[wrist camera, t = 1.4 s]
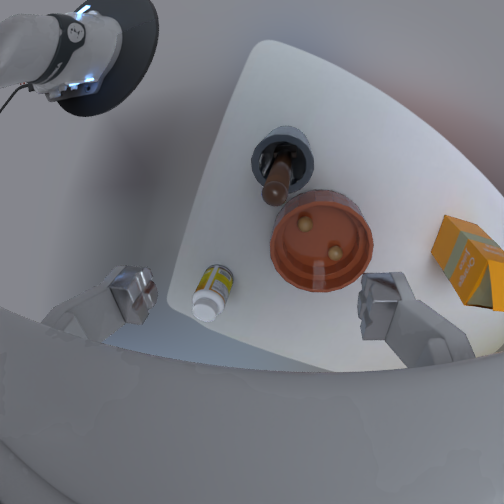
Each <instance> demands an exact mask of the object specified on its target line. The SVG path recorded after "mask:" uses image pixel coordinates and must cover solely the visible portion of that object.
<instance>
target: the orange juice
mask: <svg viewBox="0 0 504 504" xmlns="http://www.w3.org/2000/svg"><path fill="white" fill-rule="evenodd" d="M431 253H432V255H433V256H434V258H435V259H436V261H437V262H438V264H439V265H440V267H441V268H442V270H443V272H444V273H445V275H446V276H447V278H448V280H449V281H450V282H451V284H452V286H453V287H454V289H455V291H456V292H457V294H458V296H459V297H460V299H461V301H462V303H463V304H464V305H466V306H476V307H482V308H488V309H493V311H502V312H504V251H503V250H502V249H501V248H500V246H499V245H498V244H497V243H496V242H495V241H494V240H492V239H491V238H490V237H489V236H488V235H487V234H486V233H485V232H484V231H483V230H482V229H481V228H480V227H479V226H478V225H476V224H473V223H470V222H467V221H464V220H460V219H457V218H454V217H450V216H447V215H445V216H444V219H443V222H442V225H441V227H440V230H439V233H438V236H437V238H436V241H435V243H434V246H433V248H432V251H431Z"/></svg>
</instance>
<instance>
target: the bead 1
mask: <svg viewBox="0 0 504 504" xmlns="http://www.w3.org/2000/svg"><path fill="white" fill-rule="evenodd" d="M297 225H298V228H299V230H301V231H302V232H309V231H310V230H311V229H312V228H313V221H312V219H311V218H309V217H306V216H304V217H301V218H300V219H299V220H298V224H297Z"/></svg>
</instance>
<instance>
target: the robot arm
mask: <svg viewBox="0 0 504 504" xmlns="http://www.w3.org/2000/svg"><path fill="white" fill-rule="evenodd" d="M89 7H90V6H87V5H86V6H85V7H84V8H82V9H81V10H80V11H79V12H77V13H74V12H73V13H72V12H69V13H66V14H65V15H64V14H59V13H57V14H48V15H31V14H17V15H13V16H11V17H9V18H7V19H5V20H4V21H2V22H1V23H0V89H1V88H4V87H7V86H11V85H15V84H19V83H20V85H21V83H23V84H25V82H27V83H28V84H25V85H22V86H20V87H18V88H17V89H16V90H15V91H14V92H13V94H12V95H11V96H10V98H9V99H8V100H7V101H6V103H5V104H4V105H3V107H2V108H1V109H0V113H1V111H2V110H3V109H4V108H5V106H6V105H7V104H8V102H9V101H10V100H11V98H12V97H13V96H14V95H15V93H16V92H17V91H18V90H19V89H22V88H25V87H28V88H29V92H31V91H36V93H38V94H43V93H45V96H46V98H47V100H48V101H49V102H55V101H60V100H64V99H69V98H74V97H79V96H85V95H90V94H96V93H97V92H98V91H99V90H100V87H101V85H102V82H103V79H104V77H105V76H106V75H107V73H108V72H109V71H110V70H111V68H112V67H113V65H114V64H115V62H116V60H117V58H118V56H119V53H120V50H121V46H122V30H121V27H120V25H119V23H118V22H117V21H116V20H115V19H113V18H111V17H106V16H102V15H101V14H100V13H99V12H98V11H90V12H88V13H83V12H84V11H85V10H87V9H88V8H89ZM89 88H90V90H89ZM152 277H153V275H152V272H151V270H150V268H148V267H142V266H127V265H118V266H116V267H115V268H114V269H113V270H112V271H111V272H110V273H109V274H108V276H107V277H106V278H105V279H104V280H103V281H102V282H101V283H100V284H99V286H94V287H92V288H91V289H88V290H86V291H85V292H83V293H81V294H79V295H77V296H75V297H73V298H71V299H69V300H67V301H65V302H63V303H61V304H60V305H57V306H55V307H54V308H53V309H52V310H51V311H50V312H49V314H48V315H47V316H46V317H45V318H44V319H43V320H42V322H41V323H38V322H36V321H33V320H30V319H28V318H25V317H23V316H20V315H18V314H16V313H13V312H11V311H9V310H6V309H4V308H2V307H0V504H504V351H502V352H498V353H494V354H490V355H485V356H481V357H475V354H474V352H473V350H472V347H471V345H470V343H469V341H468V338H467V336H466V334H465V333H464V332H463V331H461V330H460V329H459V328H457V327H456V326H455V325H453V324H452V323H451V322H449V321H448V320H447V319H445V318H444V317H443V316H441V315H440V314H438V313H437V312H436V311H434V310H433V309H432V308H430V307H429V306H427V305H426V304H425V303H423V302H422V301H420V300H416V299H415V296H414V294H413V292H412V290H411V288H410V286H409V284H408V281H407V279H406V277H405V275H404V273H402V272H389V273H363V276H362V280H361V285H362V290H361V291H360V292H359V296H358V305H357V309H358V317H359V318H360V319H361V320H362V321H361V325H360V328H361V334H362V339H363V340H385V342H386V343H387V344H388V345H389V346H390V348H391V349H392V350H393V351H394V352H395V353H396V355H397V356H398V357H399V358H400V359H401V360H402V362H403V363H404V364H405V365H406V366H407V367H408V368H405V369H394V370H381V371H365V372H330V373H328V372H327V373H326V372H325V373H321V372H286V371H268V370H255V369H243V368H234V367H224V366H217V365H208V364H202V363H195V362H188V361H182V360H176V359H171V358H165V357H160V356H154V355H150V354H145V353H141V352H136V351H132V350H127V349H123V348H119V347H115V346H111V345H107V344H104V343H101V342H102V341H103V340H105V339H106V338H108V337H109V336H110V335H112V334H113V333H114V332H115V331H117V330H118V329H119V328H120V327H122V326H123V325H125V323H131V324H138V325H143V323H144V322H145V320H146V318H147V317H148V315H149V312H148V310H149V309H151V308H152V307H154V305H155V304H156V301H157V297H158V291H157V287H156V285H155V284H154V282H153V281H152V280H151V279H152Z"/></svg>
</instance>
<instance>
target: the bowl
mask: <svg viewBox="0 0 504 504" xmlns="http://www.w3.org/2000/svg"><path fill="white" fill-rule="evenodd" d="M304 216H306V217H309V218H311V219H312V221H313V228H312V229H311V230H310V231H309V232H302V231H301V230H299V228H298V225H297V224H298V220H299V219H300V218H301V217H304ZM332 246H339V247H340V248H341V249H342V251H343V255H342V257H341V259H339V260H337V261H334V260H331V259H330V258H329V255H328V251H329V249H330V248H331V247H332ZM373 246H374V244H373V239H372V233H371V230H370V228H369V226H368V224H367V222H366V220H365V218H364V216H363V214H362V213H361V211H360V209H359V208H358V206H357V205H356V204H355V203H354V202H352V201H351V200H350V199H349V198H347V197H346V196H344V195H342V194H339V193H336V192H333V191H330V190H313V191H309V192H306V193H302V194H299V195H297V196H296V197H294V198H293V199H292V200H290V201H289V202H287V203H286V204H285V205H284V207H283V208H282V209H281V211H280V212H279V213H278V215H277V217H276V220H275V224H274V227H273V231H272V236H271V240H270V255H271V259H272V262H273V264H274V266H275V269H276V271H277V272H278V273H279V274H280V275H281V276H282V277H283V278H284V280H285V281H287V282H288V283H290V284H292V285H293V286H295V287H297V288H299V289H302V290H306V291H310V292H331V291H335V290H339V289H342V288H344V287H346V286H347V285H349V284H351V283H353V282H354V281H355V280H357V279H358V278H359V277H360V276H361V275H362V274H363V273H364V271H365V270H366V268H367V266H368V264H369V262H370V260H371V258H372V252H373Z"/></svg>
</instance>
